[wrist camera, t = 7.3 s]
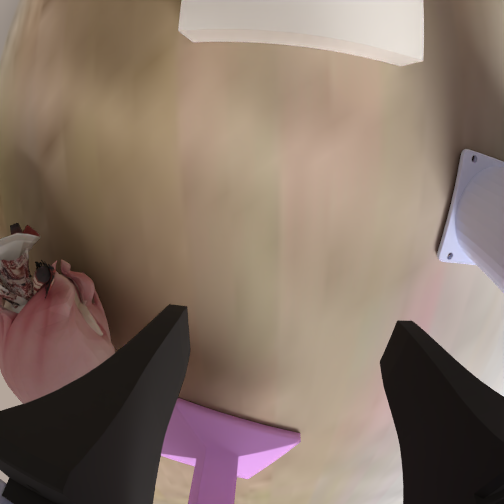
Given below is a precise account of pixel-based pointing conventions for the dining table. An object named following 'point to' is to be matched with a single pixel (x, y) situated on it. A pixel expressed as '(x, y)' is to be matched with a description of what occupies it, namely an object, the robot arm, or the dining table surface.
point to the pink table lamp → (221, 449)
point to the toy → (46, 321)
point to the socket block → (313, 25)
